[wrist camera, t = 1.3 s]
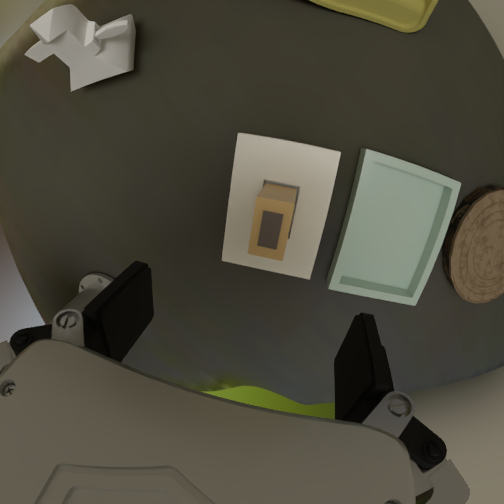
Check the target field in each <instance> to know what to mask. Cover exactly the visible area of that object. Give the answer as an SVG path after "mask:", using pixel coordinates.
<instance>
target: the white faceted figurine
mask: <svg viewBox="0 0 504 504" xmlns="http://www.w3.org/2000/svg"><path fill="white" fill-rule="evenodd" d="M30 27H31V28H32V30H33V31H34V32H35V33H36V35H37V36H38V37H39V39H40V41H39V42H38V43H36V44H35V45H33V46H32V47H31V48H30V49H29V50H28V51H27V52H26V53H25V54H24V55H26V56H28V57H30V58H31V59H33V60H35V61H37V62H41V61H42V60H44V59H45V58H47V57H48V56H50V55H52V54H53V53H54V54H55V55H56V56H57V57H59V58H60V59H61V60H62V61H63V62H64V63H65V64H66V65H67V66H69V67H70V80H71V91H73V90H76V89H78V88H81V87H83V86H86V85H89V84H92V83H94V82H97V81H100V80H103V79H106V78H109V77H112V76H115V75H118V74H122V73H125V72H128V71H132V70H134V51H135V37H136V28H135V24H134V21H133V17H132V14H130V15H127V16H125V17H122V18H120V19H117V20H115V21H112V22H110V23H107V24H105V25H103V26H100V27H99V26H98V24H97V23H96V22H93V21H88V20H87V19H86V18H85V17H84V15H83V14H82V13H81V12H80V11H79V10H78V9H77V8H76V7H75V6H74V5H70V4H68V5H63V6H59V7H55V8H53V9H51V10H50V11H48V12H47V13H46V14H44V15H43V16H41V17H40V18H39V19H37V20H36V21H35V22H33V23H32V24H31V25H30Z"/></svg>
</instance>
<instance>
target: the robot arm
mask: <svg viewBox="0 0 504 504" xmlns="http://www.w3.org/2000/svg"><path fill="white" fill-rule="evenodd" d="M153 315H154V309H153V296H152V280H151V269H150V268H149V267H148V264H146V263H143V262H139V261H135V262H133V263H132V264H131V265H130V266H129V267H128V268H127V269H125V270H124V271H123V272H122V273H121V274H120V275H119V276H118V277H117V278H115V279H113V278H111V277H109V276H107V275H105V274H102V273H97V272H95V273H90V274H88V275H86V276H85V277H84V278H83V279H82V280H81V282H80V284H79V294H78V295H77V296H76V297H75V298H74V299H73V300H71V301H70V302H69V303H68V304H67V305H66V306H65V307H64V308H63V309H61V310H60V311H59V312H58V313H57V314H56V315H55V316H54V317H53V318H52V319H51V320H50V321H49V322H48V323H47V324H46V325H43V326H37V327H31V328H25V329H21V330H18V331H17V332H15V333H14V334H13V336H12V337H11V339H10V342H9V343H8V342H7V341H4V342H2V343H0V504H465V503H466V502H467V500H468V498H469V495H470V492H469V488H468V485H467V484H466V483H465V481H464V479H463V478H462V476H461V475H460V473H459V472H458V470H457V469H456V467H455V466H454V464H453V463H452V461H451V460H450V459H449V460H448V461H447V460H446V458H445V457H446V452H447V449H446V445H445V443H444V441H443V440H442V439H441V438H439V437H438V436H437V435H436V434H434V433H433V432H432V431H431V430H430V429H428V428H427V427H426V426H425V425H424V424H422V423H421V422H420V421H419V420H418V419H416V418H415V417H414V416H413V414H414V412H415V406H414V403H413V401H412V399H411V398H410V397H409V396H408V395H407V394H405V393H403V392H400V391H394V387H393V382H392V377H391V372H390V368H389V364H388V359H387V355H386V351H385V348H384V346H382V345H381V342H380V338H379V334H378V330H377V326H376V322H375V319H374V316H373V315H372V314H366V313H360V314H359V315H356V316H355V317H354V319H353V321H352V324H351V326H350V328H349V330H348V332H347V335H346V337H345V339H344V341H343V343H342V345H341V347H340V349H339V351H338V353H337V355H336V357H335V361H334V375H335V419H327V418H320V417H313V416H307V415H301V414H294V413H289V412H283V411H277V410H272V409H267V408H262V407H258V406H253V405H249V404H245V403H240V402H236V401H232V400H229V399H225V398H221V397H217V396H213V395H210V394H207V393H203V392H200V391H197V390H194V389H190V388H187V387H184V386H181V385H178V384H175V383H172V382H169V381H166V380H164V379H161V378H158V377H155V376H153V375H150V374H147V373H145V372H142V371H140V370H137V369H135V368H132V367H130V366H127V365H125V364H123V363H121V361H122V360H123V358H124V357H125V356H126V354H127V353H128V351H129V350H130V349H131V347H132V346H133V345H134V343H135V342H136V340H137V339H138V338H139V336H140V335H141V334H142V332H143V331H144V330H145V328H146V327H147V326H148V324H149V323H150V322H151V320H152V318H153Z"/></svg>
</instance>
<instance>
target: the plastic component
mask: <svg viewBox="0 0 504 504" xmlns="http://www.w3.org/2000/svg"><path fill="white" fill-rule="evenodd" d="M309 1H312V2H314V3H316V4H319V5H321V6H324V7H327V8H330V9H332V10H335V11H338V12H342V13H346V14H350V15H353V16H357V17H360V18H363V19H367V20H370V21H373V22H376V23H379V24H382V25H384V26H387V27H390V28H392V29H395V30H398V31H400V32H406V33H408V32H415V31H418V30H420V29H421V28H423V27H424V25H425V24H426V22H427V20H428V18H429V16H430V15H431V13H432V11H433V9H434V7H435V5H436V4H437V2H438V0H309Z"/></svg>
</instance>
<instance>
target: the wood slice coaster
mask: <svg viewBox="0 0 504 504" xmlns="http://www.w3.org/2000/svg"><path fill="white" fill-rule="evenodd" d="M442 259H443V268H444V271H445V274H446V276H447V279H448V281H449V282H450V284H451V285H452V286H453V287H454V289H455V290H456V291H457V292H458V294H459V295H460V296H461V297H462V298H463V299H464V300H467V301H469V302H472V303H484V302H488V301H490V300H492V299H494V298H496V297H498V296H500V295H501V294H502V293H503V292H504V188H502V187H497V186H492V185H488V186H484V187H481V188H477V189H476V190H474V191H473V192H472V193H471V194H469V195H468V196H467V197H465V198H464V199H463V201H462V202H461V203H460V205H459V206H458V208H457V209H456V210H455V212H454V213H453V215H452V217H451V220H450V223H449V226H448V229H447V232H446V235H445V237H444V242H443V247H442Z"/></svg>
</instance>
